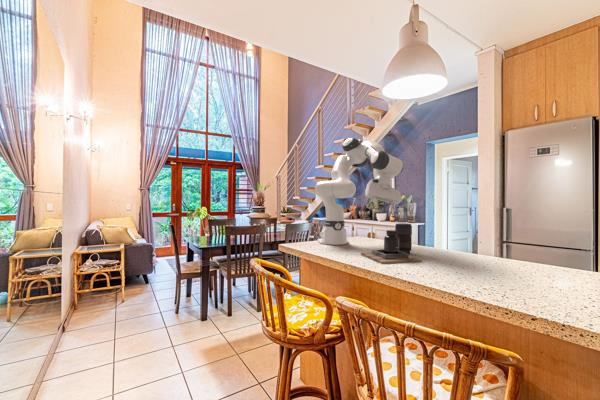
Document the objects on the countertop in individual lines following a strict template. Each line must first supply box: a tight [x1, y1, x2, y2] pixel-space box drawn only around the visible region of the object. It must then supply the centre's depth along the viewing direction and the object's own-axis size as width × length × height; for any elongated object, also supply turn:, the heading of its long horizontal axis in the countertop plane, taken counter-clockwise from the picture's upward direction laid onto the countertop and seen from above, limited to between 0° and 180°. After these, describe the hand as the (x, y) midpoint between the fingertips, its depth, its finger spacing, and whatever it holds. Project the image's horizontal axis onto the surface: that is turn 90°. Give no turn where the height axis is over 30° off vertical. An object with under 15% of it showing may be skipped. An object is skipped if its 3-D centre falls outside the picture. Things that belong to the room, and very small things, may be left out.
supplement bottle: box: [383, 229, 399, 254], centre depth 133 cm, size 7×7×12 cm
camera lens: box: [394, 223, 413, 255], centre depth 146 cm, size 8×8×15 cm
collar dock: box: [360, 248, 423, 265], centre depth 133 cm, size 20×20×3 cm
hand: (384, 207), depth 149 cm, fingers open, 8 cm apart
